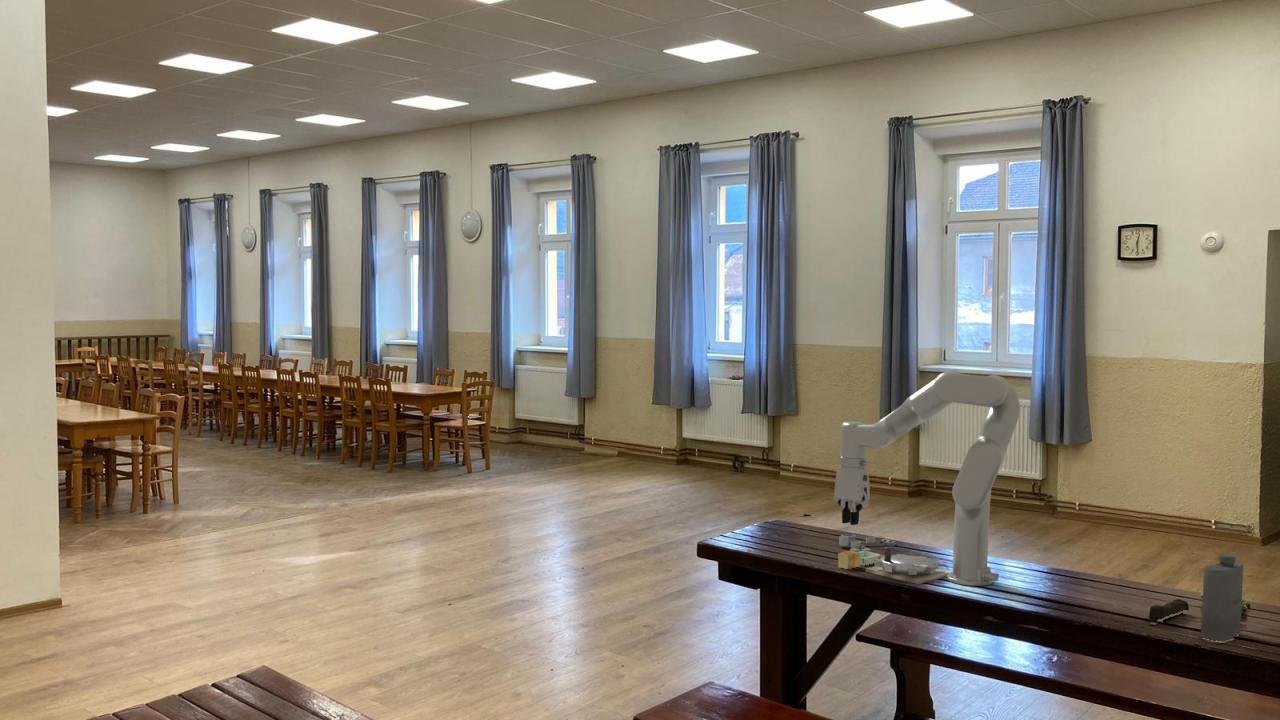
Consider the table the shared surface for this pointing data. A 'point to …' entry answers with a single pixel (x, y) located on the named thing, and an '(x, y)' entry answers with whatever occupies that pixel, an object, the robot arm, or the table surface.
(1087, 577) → the table surface
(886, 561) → the sprocket
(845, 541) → the pulley system
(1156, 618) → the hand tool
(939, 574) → the bearing plate
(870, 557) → the seat
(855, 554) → the yellow block
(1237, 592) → the flask
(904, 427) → the robot arm
